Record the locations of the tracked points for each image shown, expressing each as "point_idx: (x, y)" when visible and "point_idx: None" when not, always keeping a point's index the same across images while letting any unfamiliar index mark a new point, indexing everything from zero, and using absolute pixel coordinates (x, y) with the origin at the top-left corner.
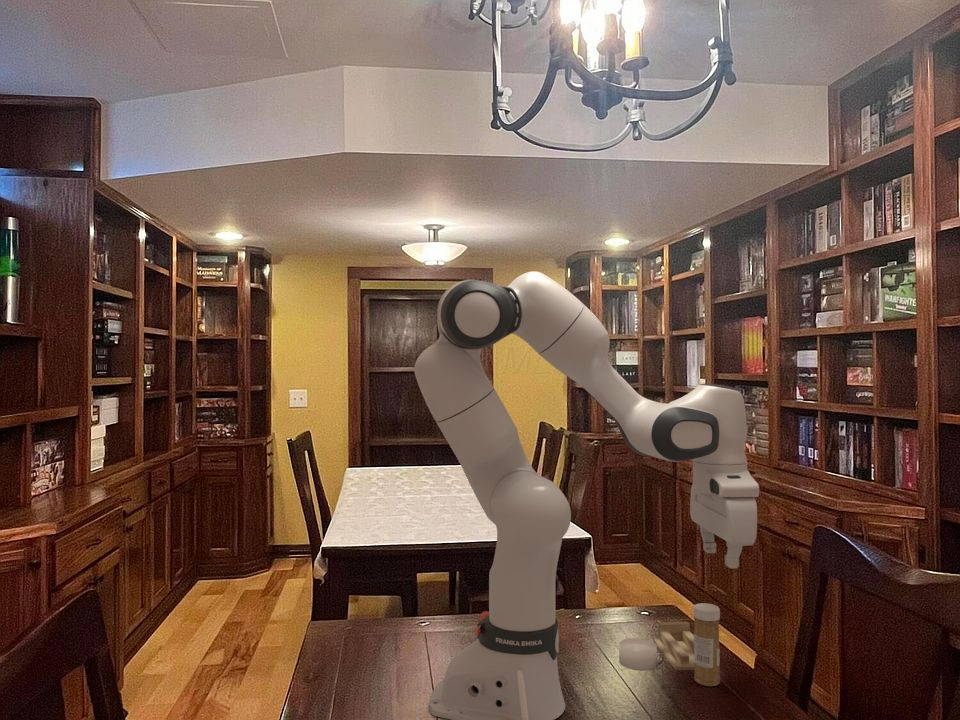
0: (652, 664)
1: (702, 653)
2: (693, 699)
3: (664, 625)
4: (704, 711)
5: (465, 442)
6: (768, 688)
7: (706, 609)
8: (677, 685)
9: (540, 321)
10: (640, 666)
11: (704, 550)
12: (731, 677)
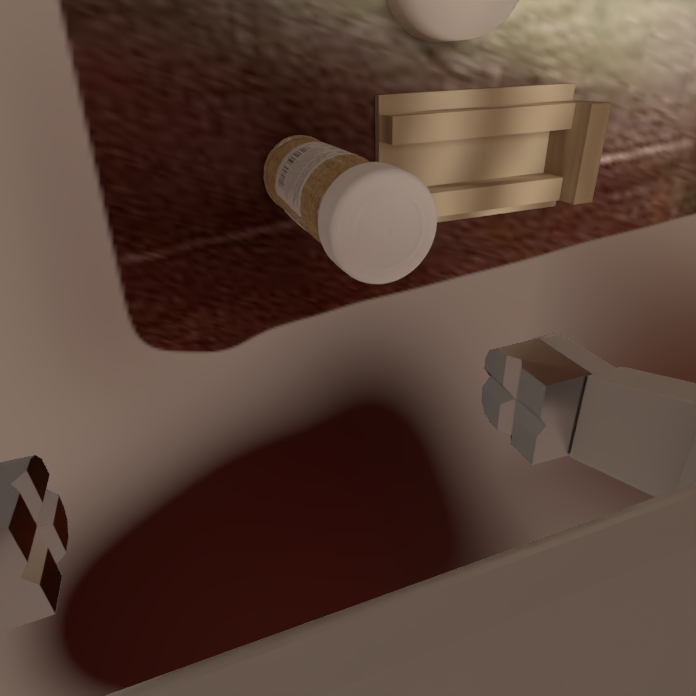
0: (397, 9)
1: (294, 166)
2: (168, 90)
3: (587, 118)
4: (80, 101)
5: None
6: (266, 327)
7: (351, 221)
8: (269, 65)
9: None
10: None
11: (544, 336)
12: None
